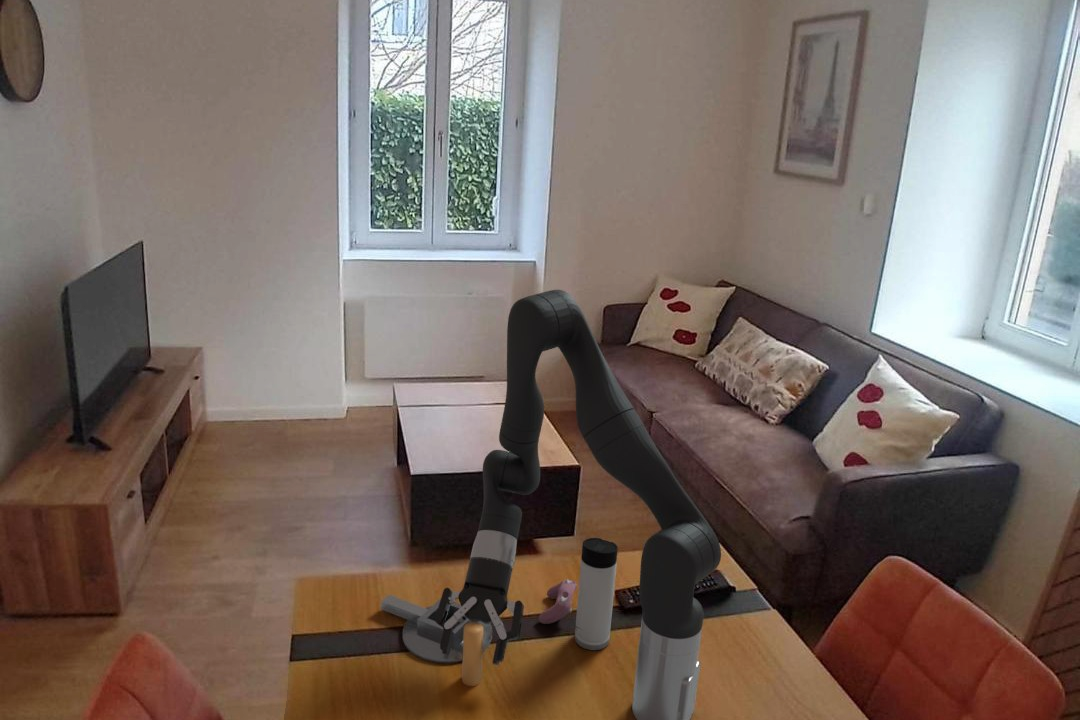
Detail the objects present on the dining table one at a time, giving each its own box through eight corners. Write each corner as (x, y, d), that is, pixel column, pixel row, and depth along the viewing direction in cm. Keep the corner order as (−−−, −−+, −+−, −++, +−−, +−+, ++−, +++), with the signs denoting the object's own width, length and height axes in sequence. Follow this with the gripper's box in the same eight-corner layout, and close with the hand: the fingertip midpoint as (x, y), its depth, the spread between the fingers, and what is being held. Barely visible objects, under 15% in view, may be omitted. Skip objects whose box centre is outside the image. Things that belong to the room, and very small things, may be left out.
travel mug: (567, 644, 147) (575, 545, 141) (583, 625, 153) (591, 529, 146) (599, 656, 144) (609, 556, 138) (614, 636, 150) (624, 539, 144)
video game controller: (556, 635, 152) (576, 608, 149) (535, 622, 152) (554, 595, 149) (565, 604, 161) (583, 579, 159) (545, 592, 161) (563, 567, 159)
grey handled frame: (508, 625, 151) (509, 606, 150) (461, 675, 138) (462, 655, 136) (410, 588, 160) (410, 571, 159) (357, 632, 147) (357, 613, 146)
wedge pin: (484, 677, 137) (487, 626, 134) (474, 688, 135) (476, 636, 132) (468, 670, 139) (470, 620, 136) (458, 681, 136) (459, 630, 133)
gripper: (447, 549, 139) (423, 647, 132) (529, 563, 137) (509, 664, 130) (456, 560, 146) (433, 655, 139) (534, 573, 143) (515, 670, 136)
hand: (470, 659), depth 134 cm, fingers open, 8 cm apart
